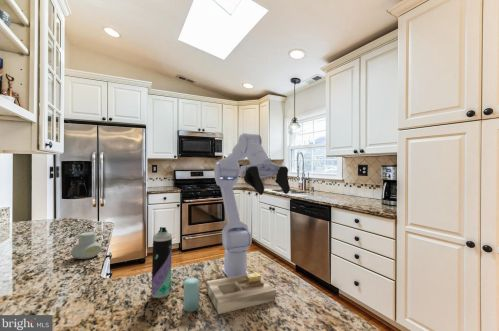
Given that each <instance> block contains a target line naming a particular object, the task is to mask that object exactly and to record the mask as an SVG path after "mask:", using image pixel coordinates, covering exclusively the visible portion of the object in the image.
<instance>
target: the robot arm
mask: <svg viewBox="0 0 499 331" xmlns="http://www.w3.org/2000/svg"><path fill="white" fill-rule="evenodd" d="M237 141H238V142H237V143H236V144H235V145H234V146H233V148H232V151H231V153H229V154H228V155H227V156H226V157H224V158H221V159H218V161H217V162H216V163H215V164H214V168H213V171H214V172H213V174H214V180H215V182H216V186H219V188H220V191H221V196H222V202H223V207H224V212H225V217H226V221H227V224H226V225H225V226H224V227H223V228H222V231H221V235H222V236H221V237H222V238H221V239H222V240H221V242H222V243H221V244H222V246H223V248H224V249H225V250H224V253H223V254H224V256H223V257H224V258H223V259H224V261H223V263H224V264H223V265H224V267H222V268H221V270H222V272H223V273H224V274H225V276H226V278H227V277H233V276H238V275H244V274H249V273H250V272H249V271H247V259H248V258H247V253H248V252H247V250H249V247H251V245H252V241H253V237H252V233H251V232H250V229H249V227H248V225H247V224H246V223H244V222H243V221H241V220H240V219H241V218H240V214H239V210H238V205H237V202H236V201H237V200H236V197H235V192H234V189H233V188H234V187H235V186H236V185H237V184H238V181H239V178H240V176H241V177H244V179H243V181H244V183H245V184H248V185H250V186H251V187H252V188H253V189H254V190H255V191H256V192H257V193H258V194H259V195H261V196H262V195H263V193H264V191H265V187H264V184H263V182H262V180H261V179H266V178H268V177H272V176H275V177H276V179H275V180H274V182H275V183H276V184H277V185H278V186H279V187H280V188H281V191H282V192H283V193H284V195H287V194H289V192H290V191H291V187H290V183H289V177H288V176H289V168H288V167H287V166H285V165H283V166H282V165H280V164H277V163H274V162H272V159H271V158H270V157H269V155H267V153H266V151H265V149H264V147H263V146H262V142H263V141H262V137H261V135H260V134H257V133H249V132H248V133H247V132H246V133H245V132H243V133H242V134H240V135H239V137H238V140H237ZM244 159H247V160H248V162H249V164H248V165H247V164H246V165H241V166H240V163H239V161H240V160H241V161H242V160H244Z"/></svg>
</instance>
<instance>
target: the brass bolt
mask: <svg viewBox="0 0 499 331" xmlns="http://www.w3.org/2000/svg"><path fill="white" fill-rule="evenodd" d="M251 273H252V274H247V275H246V284H247V285H248V284H253V283H258V282H261V277H262V275H261V274H260V273H259V272H256V273H255V272H251Z"/></svg>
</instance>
